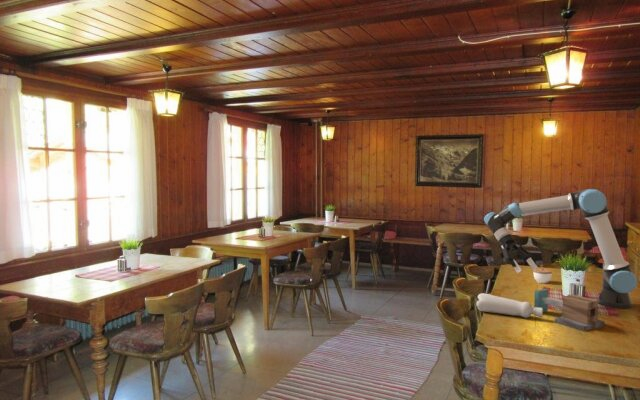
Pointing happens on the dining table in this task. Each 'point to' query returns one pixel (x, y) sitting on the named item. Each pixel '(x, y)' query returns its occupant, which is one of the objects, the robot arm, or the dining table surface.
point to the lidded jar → (542, 275)
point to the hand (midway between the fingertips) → (528, 270)
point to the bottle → (506, 306)
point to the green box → (545, 300)
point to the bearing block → (580, 313)
